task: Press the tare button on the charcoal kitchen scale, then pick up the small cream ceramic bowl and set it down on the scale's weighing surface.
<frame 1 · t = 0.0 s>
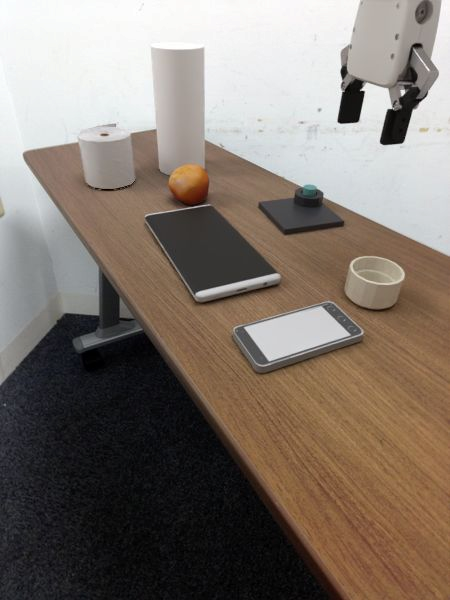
hand: (368, 132, 55), 20 cm above the table, tool pointing down, fingers open, 9 cm apart
fruit: (189, 201, 86), on the table
scale: (299, 216, 81), on the table
bowl: (369, 296, 61), on the table
tare button: (309, 190, 82), point 3 cm above the table, slide at 0.1 cm
toilet tissue: (110, 181, 93), on the table
tablet: (205, 251, 70), on the table
tall pillar cylinder: (182, 169, 100), on the table
smartphone: (297, 338, 53), on the table
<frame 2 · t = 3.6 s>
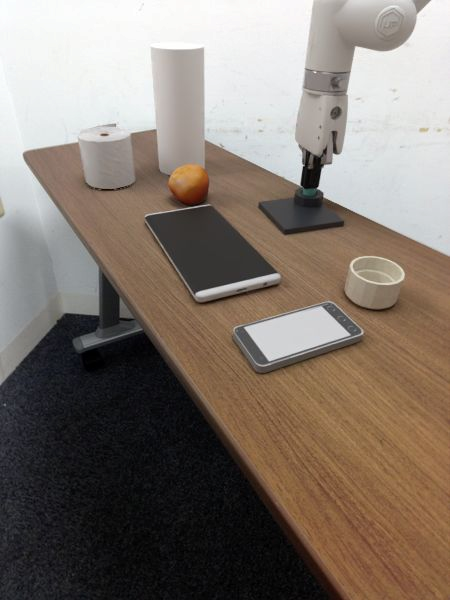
hand: (309, 186, 82), 4 cm above the table, tool pointing down, fingers closed
tare button: (309, 190, 82), point 3 cm above the table, slide at 0.1 cm, touching gripper
everything else where it was.
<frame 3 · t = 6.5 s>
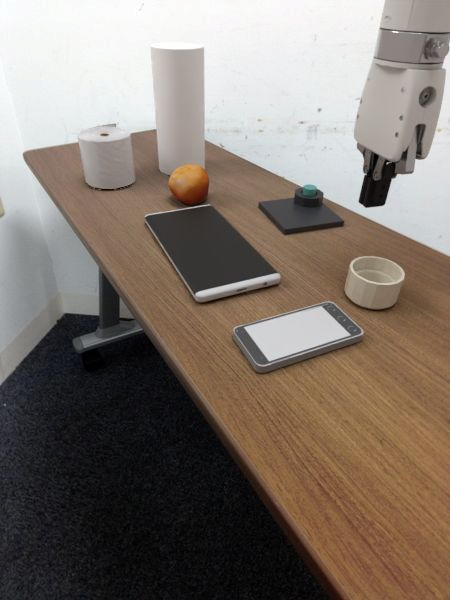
hand: (371, 204, 58), 12 cm above the table, tool pointing down, fingers closed
tare button: (309, 190, 82), point 3 cm above the table, slide at 0.1 cm
everything else where it was.
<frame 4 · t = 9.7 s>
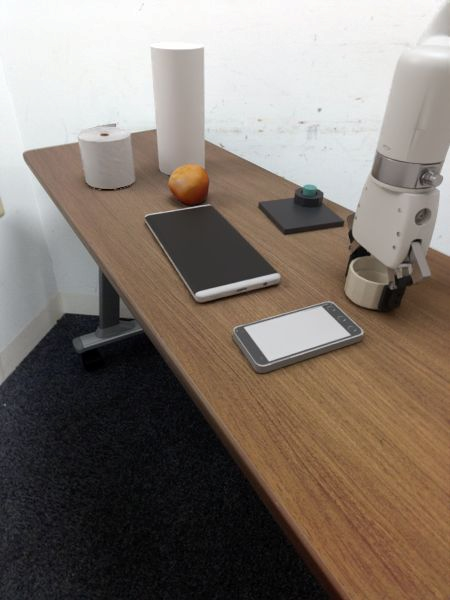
hand: (370, 291, 60), 1 cm above the table, tool pointing down, fingers closed on bowl, 7 cm apart
bowl: (369, 296, 61), on the table, touching gripper
everything else where it was.
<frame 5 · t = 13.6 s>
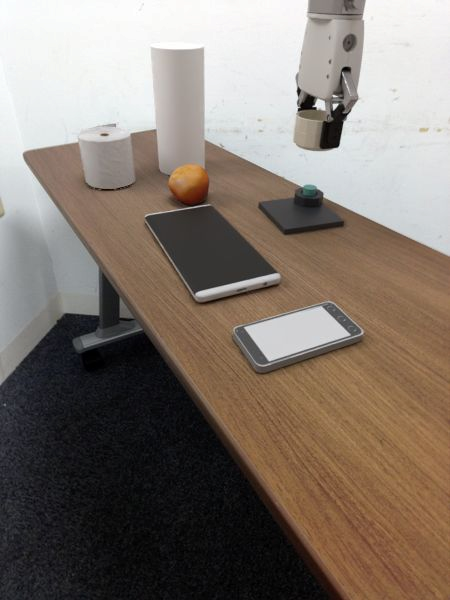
hand: (316, 139, 68), 16 cm above the table, tool pointing down, fingers closed on bowl, 7 cm apart
bowl: (315, 145, 68), point 15 cm above the table, touching gripper
everything else where it was.
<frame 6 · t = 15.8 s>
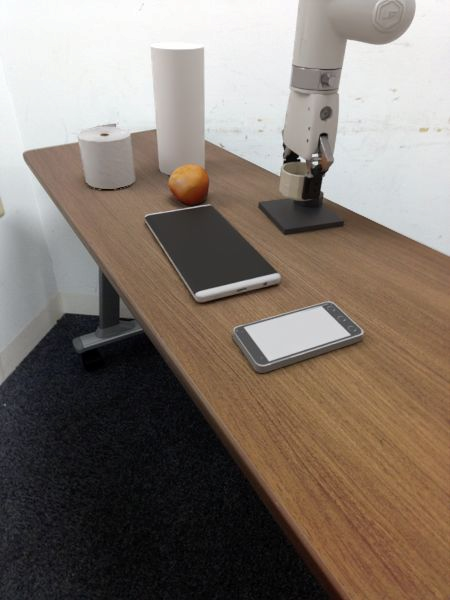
hand: (299, 189, 76), 6 cm above the table, tool pointing down, fingers closed on bowl, 7 cm apart
bowl: (298, 193, 76), point 5 cm above the table, touching gripper
everything else where it was.
when the fingers open (2 cm above the table, at t = 17.7 s): bowl stays where it is, resting on scale.
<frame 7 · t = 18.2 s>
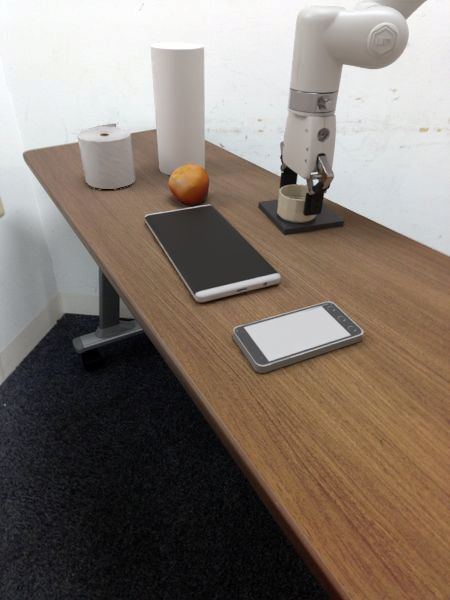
hand: (299, 203, 77), 4 cm above the table, tool pointing down, fingers open, 9 cm apart
bowl: (296, 215, 79), point 1 cm above the table, touching scale
everything else where it was.
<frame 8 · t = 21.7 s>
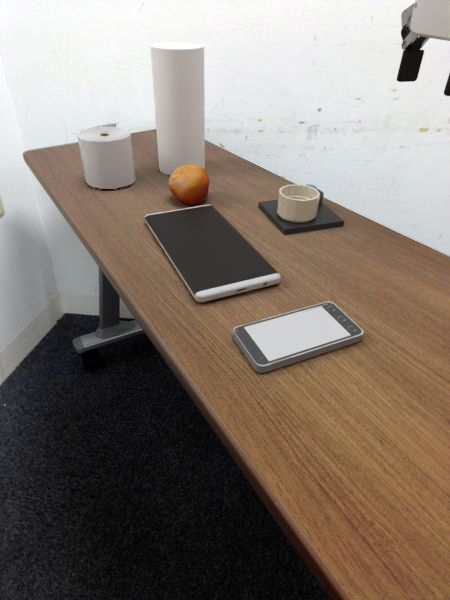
hand: (428, 87, 59), 24 cm above the table, tool pointing down, fingers open, 9 cm apart
nothing on the table moved.
at the end: tare button pushed in 1.0 cm at the most during the clip, back to where it started at the end; bowl 0.1 cm from the target spot on the scale, point 1.2 cm above the scale's base; bowl tilted 0° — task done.
